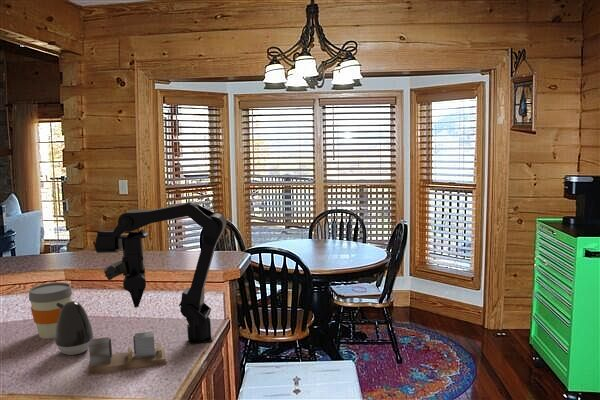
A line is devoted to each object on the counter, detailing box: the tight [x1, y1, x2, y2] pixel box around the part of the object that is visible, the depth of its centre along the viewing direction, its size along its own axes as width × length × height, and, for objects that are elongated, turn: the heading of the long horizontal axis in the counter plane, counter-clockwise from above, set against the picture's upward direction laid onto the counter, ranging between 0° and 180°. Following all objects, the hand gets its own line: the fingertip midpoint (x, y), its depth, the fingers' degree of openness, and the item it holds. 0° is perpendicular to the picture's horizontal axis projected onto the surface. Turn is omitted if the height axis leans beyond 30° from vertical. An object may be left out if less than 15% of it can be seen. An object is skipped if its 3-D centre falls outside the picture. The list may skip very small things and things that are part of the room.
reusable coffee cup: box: [28, 281, 73, 340], centre depth 172 cm, size 13×13×15 cm
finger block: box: [133, 330, 156, 360], centre depth 150 cm, size 5×4×6 cm
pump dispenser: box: [54, 300, 94, 356], centre depth 157 cm, size 10×10×15 cm
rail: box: [87, 336, 167, 376], centre depth 149 cm, size 20×8×8 cm, turn 107°
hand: (136, 302), depth 164 cm, fingers open, 9 cm apart
